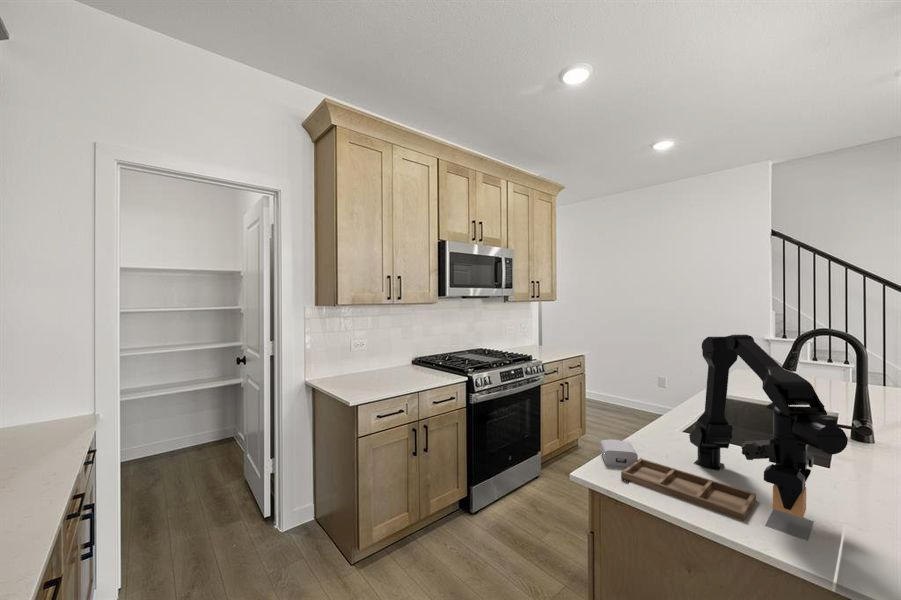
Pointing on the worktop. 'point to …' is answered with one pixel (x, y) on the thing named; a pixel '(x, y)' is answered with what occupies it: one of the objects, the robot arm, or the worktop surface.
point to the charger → (618, 453)
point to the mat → (790, 524)
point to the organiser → (691, 488)
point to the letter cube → (797, 508)
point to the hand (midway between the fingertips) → (789, 504)
